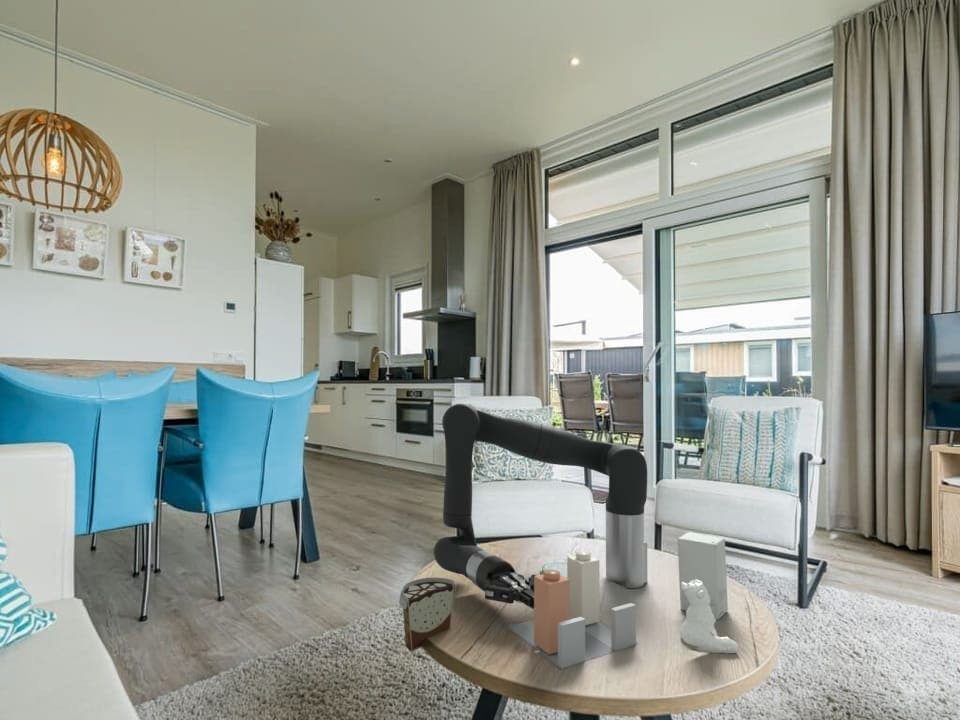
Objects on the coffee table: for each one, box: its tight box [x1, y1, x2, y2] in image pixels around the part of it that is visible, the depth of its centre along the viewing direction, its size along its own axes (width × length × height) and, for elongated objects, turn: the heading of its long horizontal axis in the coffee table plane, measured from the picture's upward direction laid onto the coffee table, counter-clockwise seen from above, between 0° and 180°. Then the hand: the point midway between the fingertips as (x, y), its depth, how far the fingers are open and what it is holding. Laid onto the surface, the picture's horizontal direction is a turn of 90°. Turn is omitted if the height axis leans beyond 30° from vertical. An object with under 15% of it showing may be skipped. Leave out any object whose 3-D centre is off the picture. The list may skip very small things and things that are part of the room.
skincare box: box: [677, 531, 729, 621], centre depth 113 cm, size 8×7×16 cm
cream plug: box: [566, 550, 601, 625], centre depth 104 cm, size 4×4×13 cm
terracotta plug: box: [533, 568, 569, 655], centre depth 94 cm, size 4×4×13 cm
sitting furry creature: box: [679, 580, 739, 654], centre depth 97 cm, size 10×9×12 cm
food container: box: [398, 577, 457, 653], centre depth 100 cm, size 12×6×10 cm, turn 135°
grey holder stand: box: [505, 602, 639, 671], centre depth 98 cm, size 18×17×8 cm
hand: (536, 602), depth 98 cm, fingers closed
